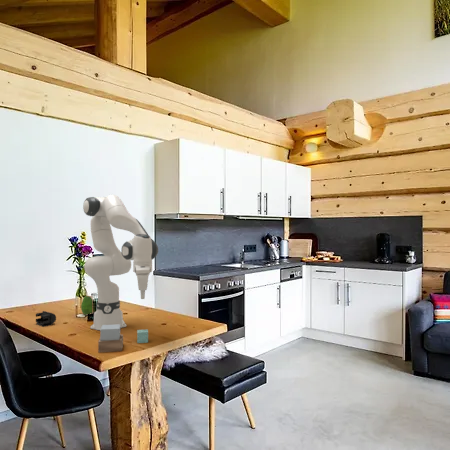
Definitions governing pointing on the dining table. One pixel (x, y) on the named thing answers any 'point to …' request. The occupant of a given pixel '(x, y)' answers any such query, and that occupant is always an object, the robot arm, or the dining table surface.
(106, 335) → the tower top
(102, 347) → the tower base
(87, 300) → the avocado
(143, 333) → the teal block
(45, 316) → the end cap
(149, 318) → the dining table surface
